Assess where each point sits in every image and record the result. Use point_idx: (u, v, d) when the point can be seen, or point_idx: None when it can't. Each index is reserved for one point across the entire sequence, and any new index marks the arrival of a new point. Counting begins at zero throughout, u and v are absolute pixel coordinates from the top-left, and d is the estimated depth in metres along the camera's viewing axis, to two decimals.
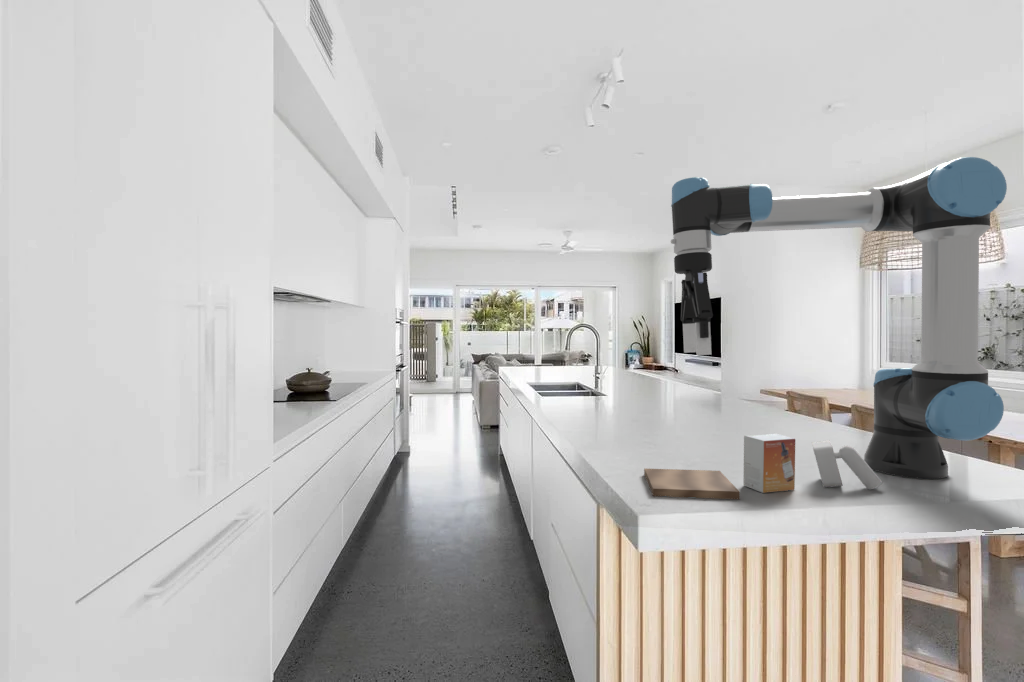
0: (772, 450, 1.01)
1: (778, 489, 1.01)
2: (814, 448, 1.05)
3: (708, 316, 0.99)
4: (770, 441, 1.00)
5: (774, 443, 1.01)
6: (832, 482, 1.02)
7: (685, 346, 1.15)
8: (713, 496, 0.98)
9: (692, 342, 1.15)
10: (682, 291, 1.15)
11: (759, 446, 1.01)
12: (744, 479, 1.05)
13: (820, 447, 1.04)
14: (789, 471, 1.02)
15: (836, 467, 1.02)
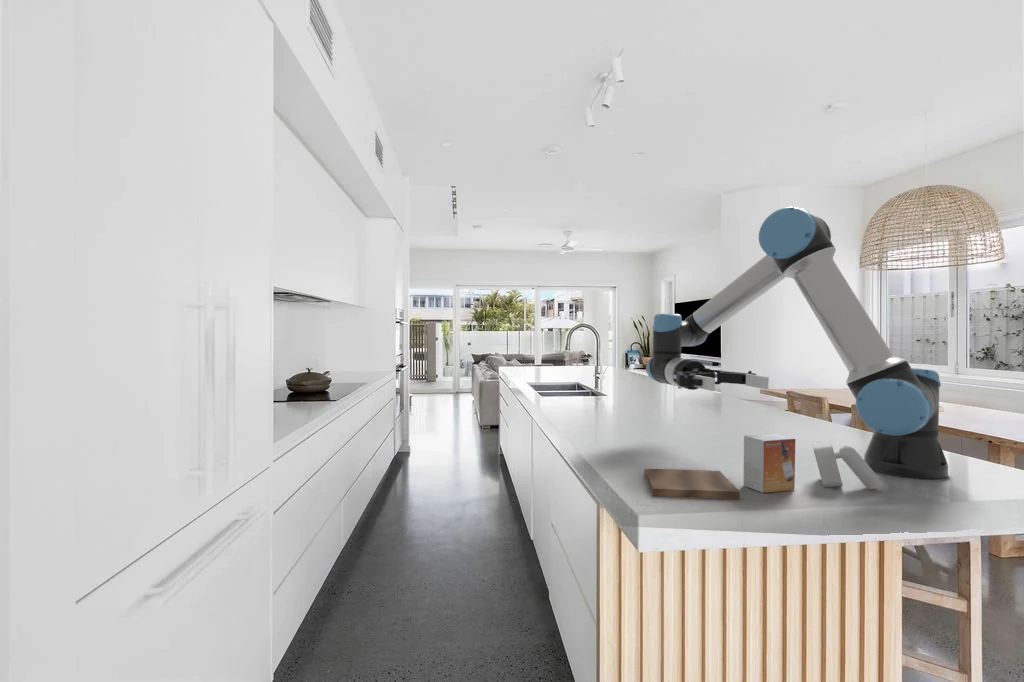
0: (772, 450, 1.01)
1: (778, 489, 1.01)
2: (814, 448, 1.05)
3: (680, 378, 1.17)
4: (770, 441, 1.00)
5: (773, 443, 1.01)
6: (832, 482, 1.02)
7: (761, 387, 1.15)
8: (713, 496, 0.98)
9: (758, 379, 1.16)
10: None
11: (759, 446, 1.01)
12: (744, 479, 1.05)
13: (820, 447, 1.04)
14: (789, 471, 1.02)
15: (836, 467, 1.02)
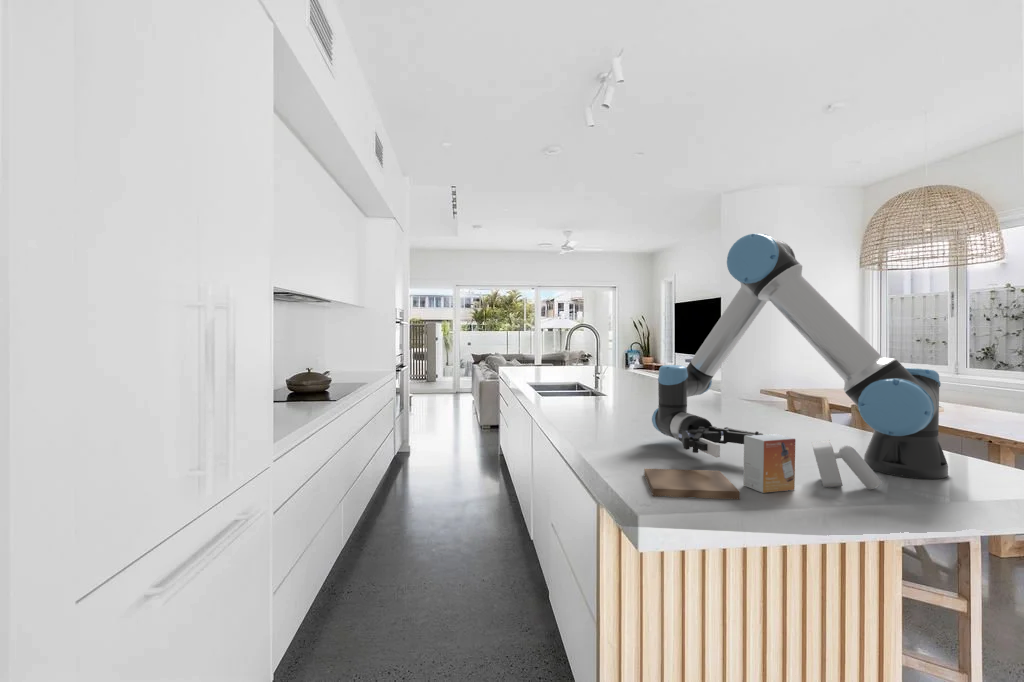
0: (772, 450, 1.01)
1: (778, 489, 1.01)
2: (814, 448, 1.05)
3: (685, 441, 1.15)
4: (770, 441, 1.00)
5: (774, 443, 1.01)
6: (832, 482, 1.02)
7: None
8: (713, 496, 0.98)
9: None
10: None
11: (759, 446, 1.01)
12: (744, 479, 1.05)
13: (820, 447, 1.04)
14: (789, 471, 1.02)
15: (836, 467, 1.02)
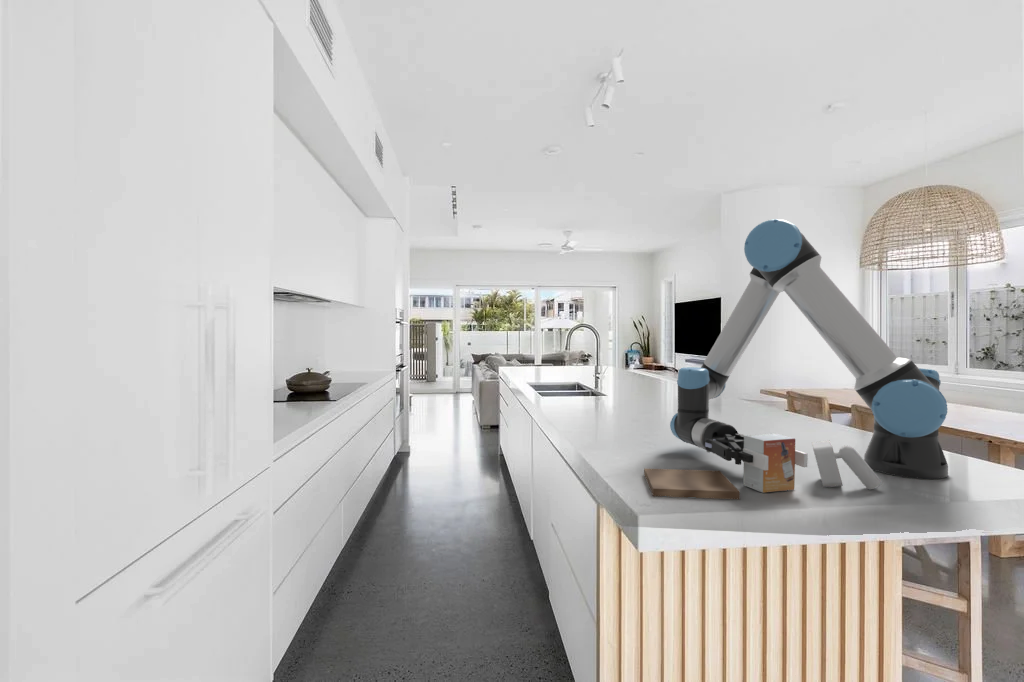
0: (772, 450, 1.01)
1: (778, 489, 1.01)
2: (814, 448, 1.05)
3: (727, 452, 1.05)
4: (770, 441, 1.00)
5: (773, 443, 1.01)
6: (832, 482, 1.02)
7: (798, 464, 1.01)
8: (713, 496, 0.98)
9: (795, 455, 1.02)
10: None
11: (759, 446, 1.01)
12: (744, 479, 1.05)
13: (820, 447, 1.04)
14: (789, 471, 1.02)
15: (836, 467, 1.02)
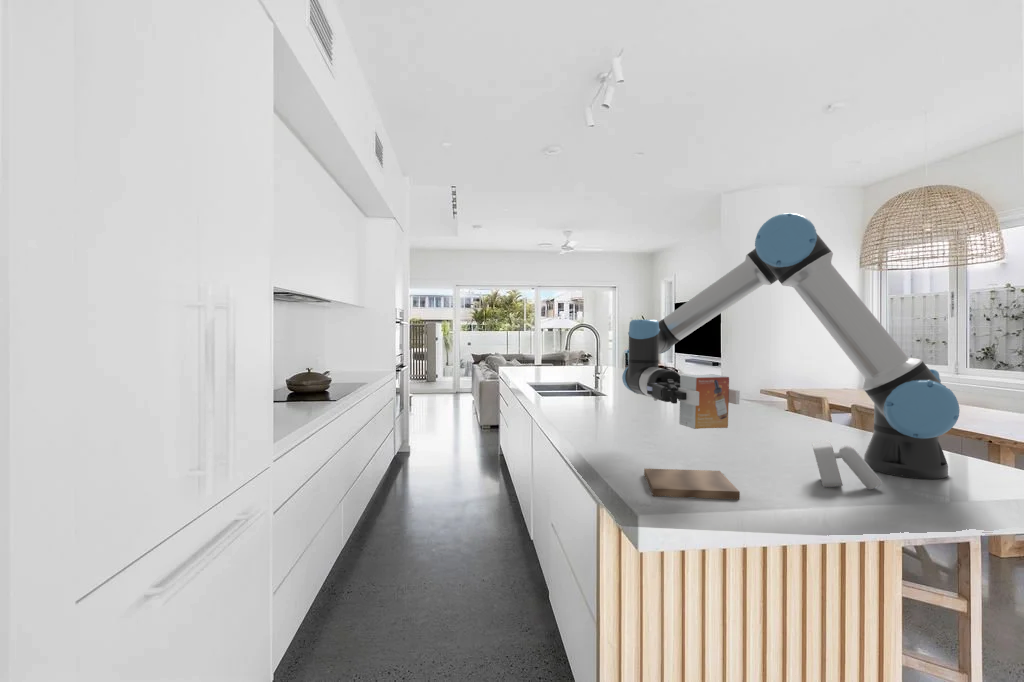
0: (705, 387, 1.02)
1: (711, 426, 1.03)
2: (814, 448, 1.05)
3: (663, 391, 1.06)
4: (703, 378, 1.02)
5: (706, 380, 1.02)
6: (832, 482, 1.02)
7: (731, 402, 1.03)
8: (713, 496, 0.98)
9: (729, 393, 1.03)
10: None
11: (692, 383, 1.02)
12: (680, 418, 1.07)
13: (820, 447, 1.04)
14: (722, 409, 1.03)
15: (836, 467, 1.02)
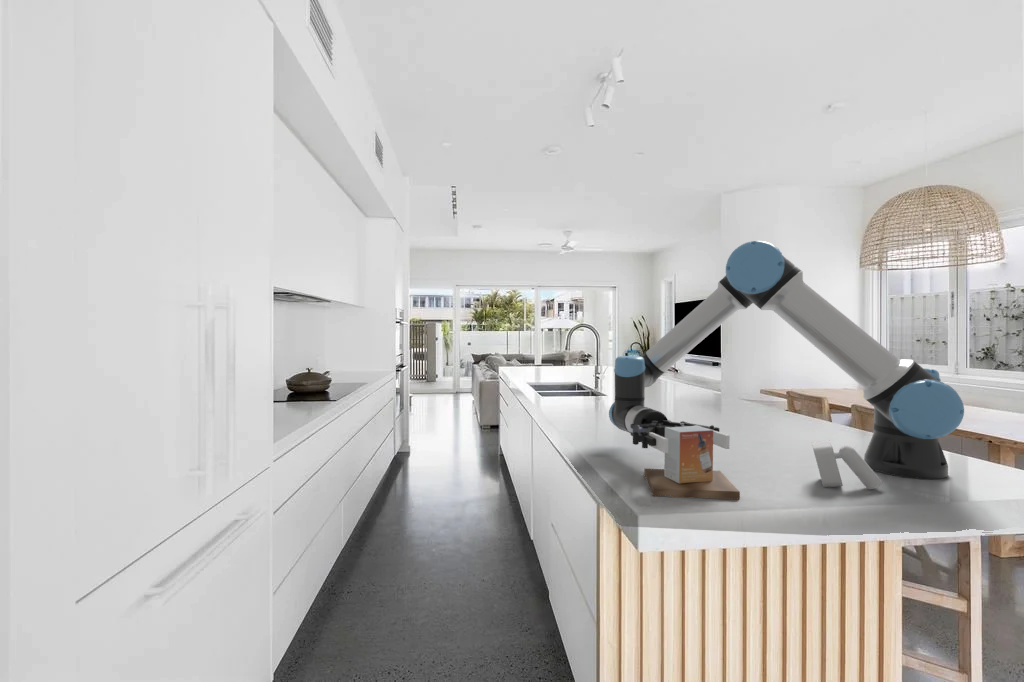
0: (689, 441, 1.02)
1: (695, 480, 1.03)
2: (814, 448, 1.05)
3: (634, 436, 1.07)
4: (686, 432, 1.02)
5: (690, 434, 1.02)
6: (832, 482, 1.02)
7: (721, 446, 1.04)
8: (713, 496, 0.98)
9: (719, 437, 1.05)
10: None
11: (676, 437, 1.02)
12: (665, 471, 1.06)
13: (820, 447, 1.04)
14: (707, 462, 1.03)
15: (836, 467, 1.02)
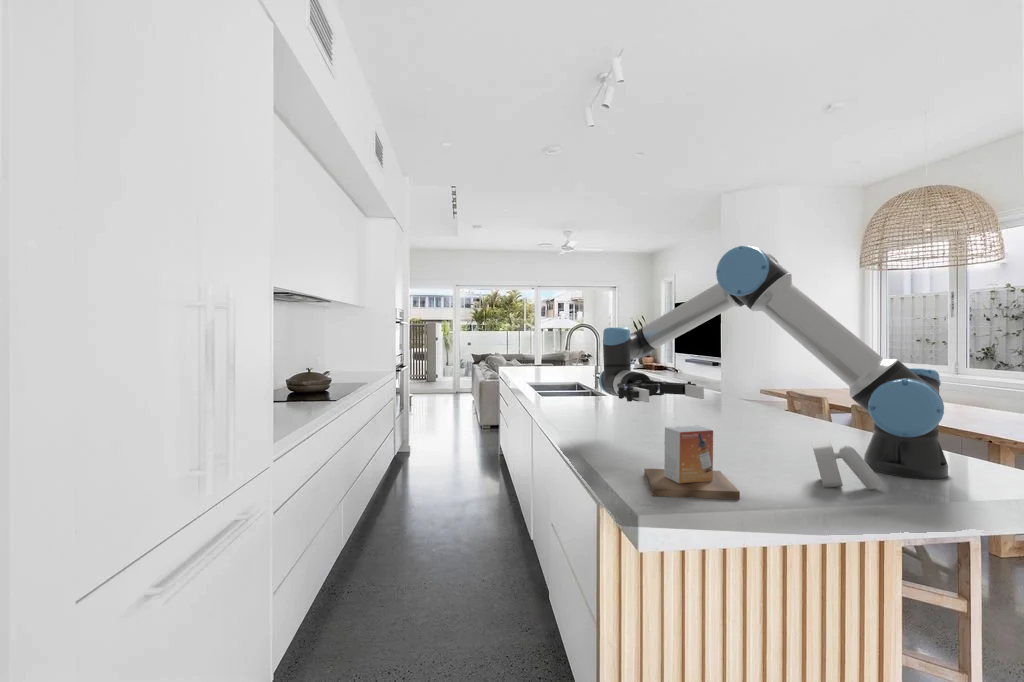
0: (689, 441, 1.02)
1: (695, 480, 1.03)
2: (814, 448, 1.05)
3: (619, 391, 1.20)
4: (686, 432, 1.02)
5: (690, 434, 1.02)
6: (832, 482, 1.02)
7: (697, 397, 1.18)
8: (713, 496, 0.98)
9: (695, 390, 1.18)
10: None
11: (676, 437, 1.02)
12: (665, 471, 1.06)
13: (820, 447, 1.04)
14: (707, 462, 1.03)
15: (836, 467, 1.02)
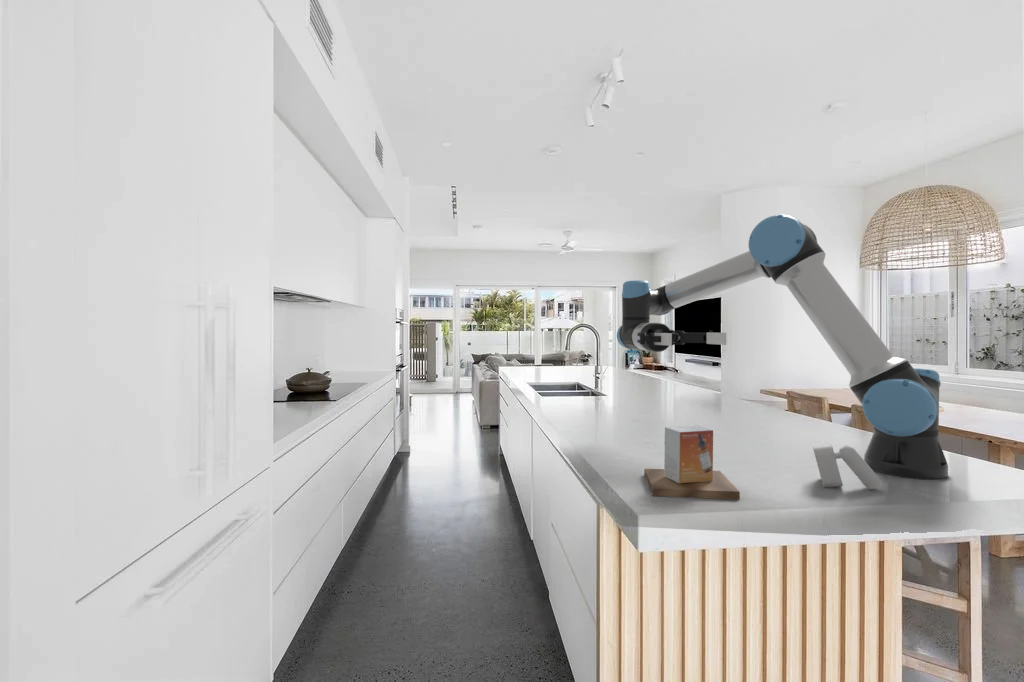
0: (689, 441, 1.02)
1: (695, 480, 1.03)
2: (814, 448, 1.05)
3: (641, 336, 1.20)
4: (686, 432, 1.02)
5: (690, 434, 1.02)
6: (832, 482, 1.02)
7: (719, 343, 1.17)
8: (713, 496, 0.98)
9: (717, 336, 1.18)
10: None
11: (676, 437, 1.02)
12: (665, 471, 1.06)
13: (820, 447, 1.04)
14: (707, 462, 1.03)
15: (836, 467, 1.02)
